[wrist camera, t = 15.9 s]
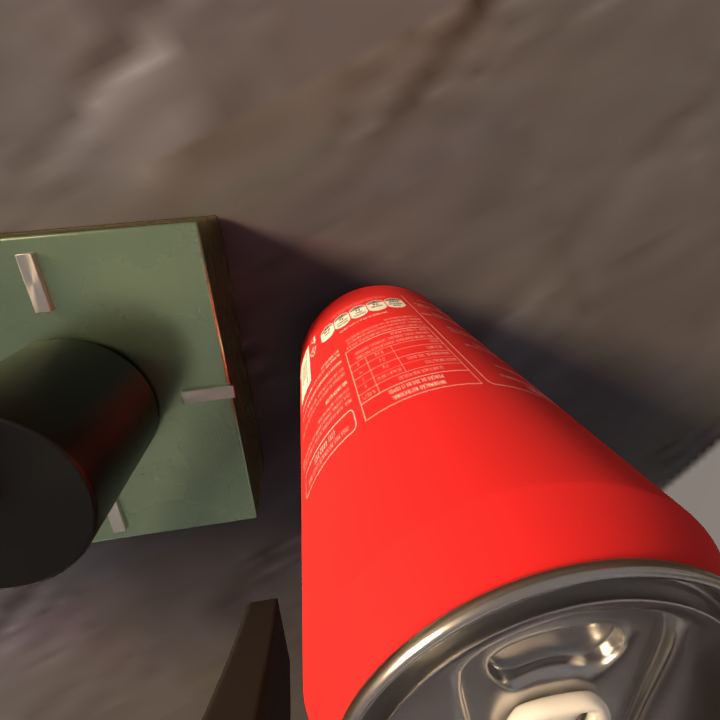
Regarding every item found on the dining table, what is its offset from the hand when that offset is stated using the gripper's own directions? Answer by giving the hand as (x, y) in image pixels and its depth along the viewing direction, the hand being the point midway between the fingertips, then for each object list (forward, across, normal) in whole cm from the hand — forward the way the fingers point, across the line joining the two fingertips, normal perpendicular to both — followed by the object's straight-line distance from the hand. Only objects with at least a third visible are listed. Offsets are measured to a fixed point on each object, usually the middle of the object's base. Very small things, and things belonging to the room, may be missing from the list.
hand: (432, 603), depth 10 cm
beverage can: (+7, 0, -4) cm, 8 cm away
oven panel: (+7, +9, -4) cm, 13 cm away
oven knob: (+4, +8, -4) cm, 10 cm away
